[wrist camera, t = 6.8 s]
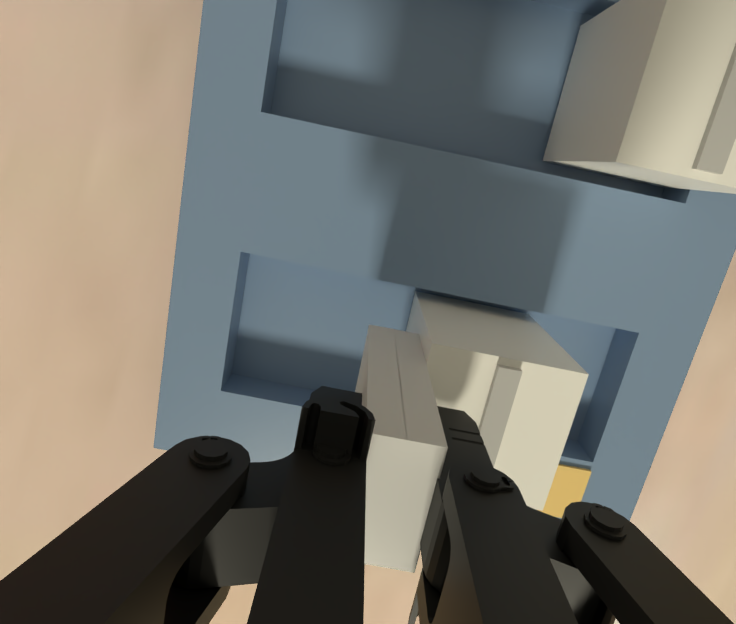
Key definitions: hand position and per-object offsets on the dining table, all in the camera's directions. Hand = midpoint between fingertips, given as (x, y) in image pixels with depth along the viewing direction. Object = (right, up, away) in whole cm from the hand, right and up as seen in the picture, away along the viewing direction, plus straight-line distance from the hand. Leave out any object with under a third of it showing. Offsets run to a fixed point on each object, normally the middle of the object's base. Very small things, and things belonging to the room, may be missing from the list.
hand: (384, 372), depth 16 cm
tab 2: (+7, +8, +1) cm, 11 cm away
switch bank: (+2, +5, +3) cm, 6 cm away
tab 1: (+3, 0, +3) cm, 4 cm away
